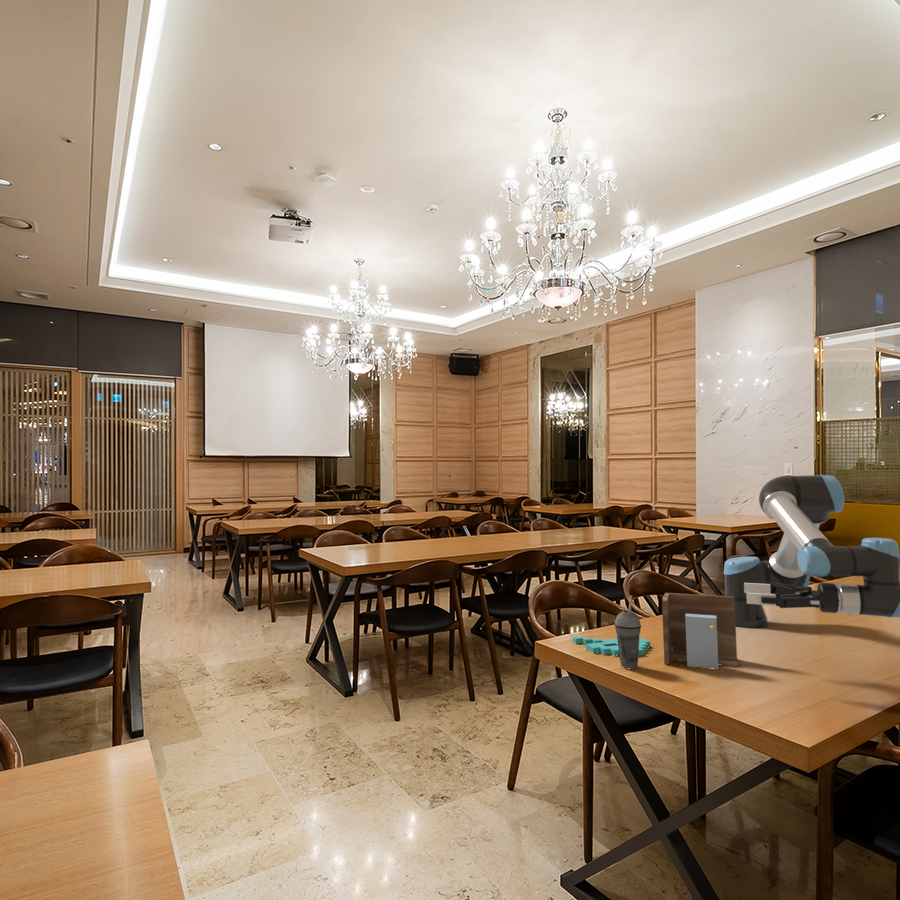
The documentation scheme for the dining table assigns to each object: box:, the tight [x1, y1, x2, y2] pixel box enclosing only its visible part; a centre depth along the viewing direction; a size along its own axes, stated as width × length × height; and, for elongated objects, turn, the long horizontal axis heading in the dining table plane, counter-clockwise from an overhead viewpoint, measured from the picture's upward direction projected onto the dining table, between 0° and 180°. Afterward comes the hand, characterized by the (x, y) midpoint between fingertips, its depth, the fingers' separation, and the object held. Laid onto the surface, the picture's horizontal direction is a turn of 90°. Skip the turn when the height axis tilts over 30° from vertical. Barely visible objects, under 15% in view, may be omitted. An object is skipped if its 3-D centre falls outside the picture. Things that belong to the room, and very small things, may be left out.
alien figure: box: [572, 636, 651, 657], centre depth 184 cm, size 20×2×20 cm
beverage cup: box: [614, 595, 642, 670], centre depth 166 cm, size 7×7×20 cm
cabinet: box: [661, 592, 739, 667], centre depth 169 cm, size 12×19×18 cm, turn 66°
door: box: [685, 614, 719, 670], centre depth 164 cm, size 5×8×14 cm, turn 66°
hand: (745, 592), depth 160 cm, fingers open, 13 cm apart
